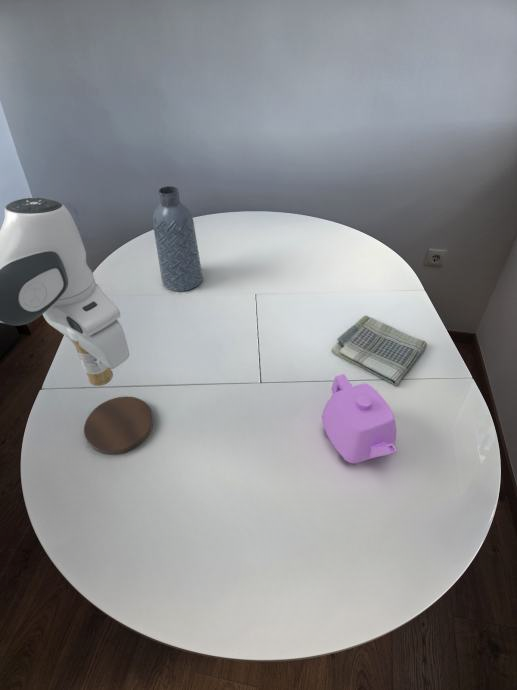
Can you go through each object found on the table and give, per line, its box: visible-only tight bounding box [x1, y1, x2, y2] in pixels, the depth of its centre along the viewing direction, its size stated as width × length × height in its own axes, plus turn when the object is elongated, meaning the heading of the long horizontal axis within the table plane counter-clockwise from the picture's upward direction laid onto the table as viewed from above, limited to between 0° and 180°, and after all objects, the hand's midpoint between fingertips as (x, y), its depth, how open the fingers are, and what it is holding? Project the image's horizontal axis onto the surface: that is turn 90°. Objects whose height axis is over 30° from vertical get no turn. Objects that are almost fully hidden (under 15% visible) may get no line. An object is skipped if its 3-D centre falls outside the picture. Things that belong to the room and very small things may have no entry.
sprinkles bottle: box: [67, 328, 114, 387], centre depth 77 cm, size 5×5×14 cm
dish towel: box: [330, 315, 428, 386], centre depth 107 cm, size 19×18×3 cm
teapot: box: [321, 373, 398, 464], centre depth 84 cm, size 20×12×13 cm, turn 22°
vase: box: [152, 185, 203, 292], centre depth 121 cm, size 12×12×28 cm
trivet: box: [83, 396, 154, 456], centre depth 91 cm, size 14×14×2 cm
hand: (93, 359), depth 78 cm, fingers closed on sprinkles bottle, 4 cm apart
